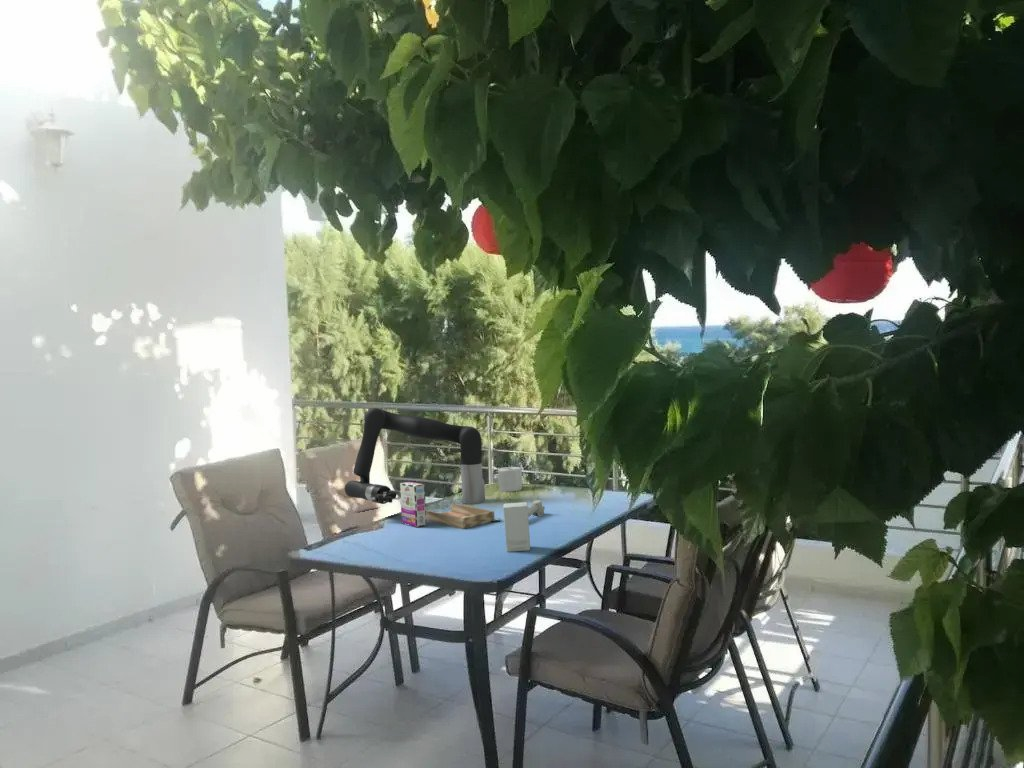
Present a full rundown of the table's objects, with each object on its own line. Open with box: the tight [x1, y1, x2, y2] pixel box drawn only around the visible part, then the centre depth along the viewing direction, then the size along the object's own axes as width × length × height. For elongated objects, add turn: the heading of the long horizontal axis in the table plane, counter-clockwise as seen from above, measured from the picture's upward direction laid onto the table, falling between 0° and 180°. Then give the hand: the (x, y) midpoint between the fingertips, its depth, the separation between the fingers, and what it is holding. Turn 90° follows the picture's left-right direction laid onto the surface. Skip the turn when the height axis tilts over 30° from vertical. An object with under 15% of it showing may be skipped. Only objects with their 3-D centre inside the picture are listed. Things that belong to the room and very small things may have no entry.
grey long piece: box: [527, 499, 545, 518], centre depth 323 cm, size 5×7×25 cm
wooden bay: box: [426, 502, 496, 530], centre depth 328 cm, size 16×26×4 cm, turn 43°
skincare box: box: [503, 501, 531, 553], centre depth 280 cm, size 8×7×16 cm
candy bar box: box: [399, 481, 427, 528], centre depth 325 cm, size 11×5×16 cm, turn 40°
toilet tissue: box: [497, 466, 523, 493], centre depth 388 cm, size 11×12×10 cm
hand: (400, 498), depth 331 cm, fingers open, 8 cm apart
